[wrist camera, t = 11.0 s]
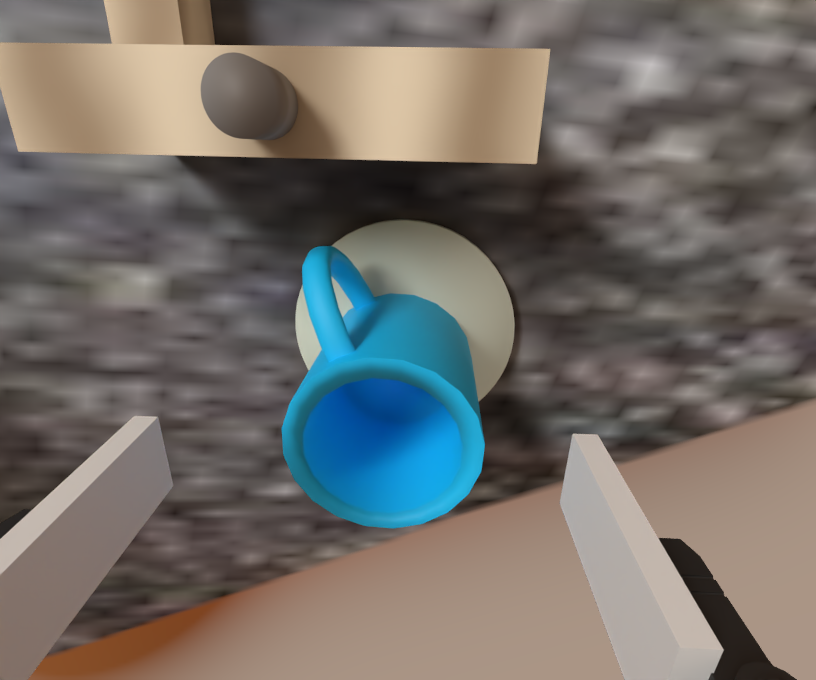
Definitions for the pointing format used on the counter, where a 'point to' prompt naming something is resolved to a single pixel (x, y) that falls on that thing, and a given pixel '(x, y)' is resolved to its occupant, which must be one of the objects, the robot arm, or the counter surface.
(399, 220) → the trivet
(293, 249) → the counter surface
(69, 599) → the robot arm
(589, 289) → the counter surface
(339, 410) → the mug
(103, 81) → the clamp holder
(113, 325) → the counter surface
